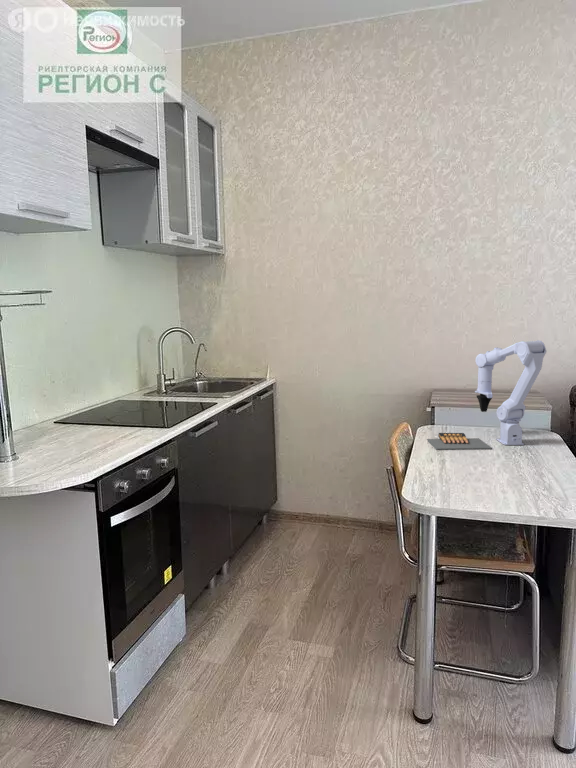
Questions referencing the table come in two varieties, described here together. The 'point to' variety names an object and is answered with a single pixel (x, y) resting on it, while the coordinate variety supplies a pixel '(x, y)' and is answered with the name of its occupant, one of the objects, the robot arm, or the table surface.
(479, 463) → the table surface
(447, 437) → the ammunition clip
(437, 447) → the mat
